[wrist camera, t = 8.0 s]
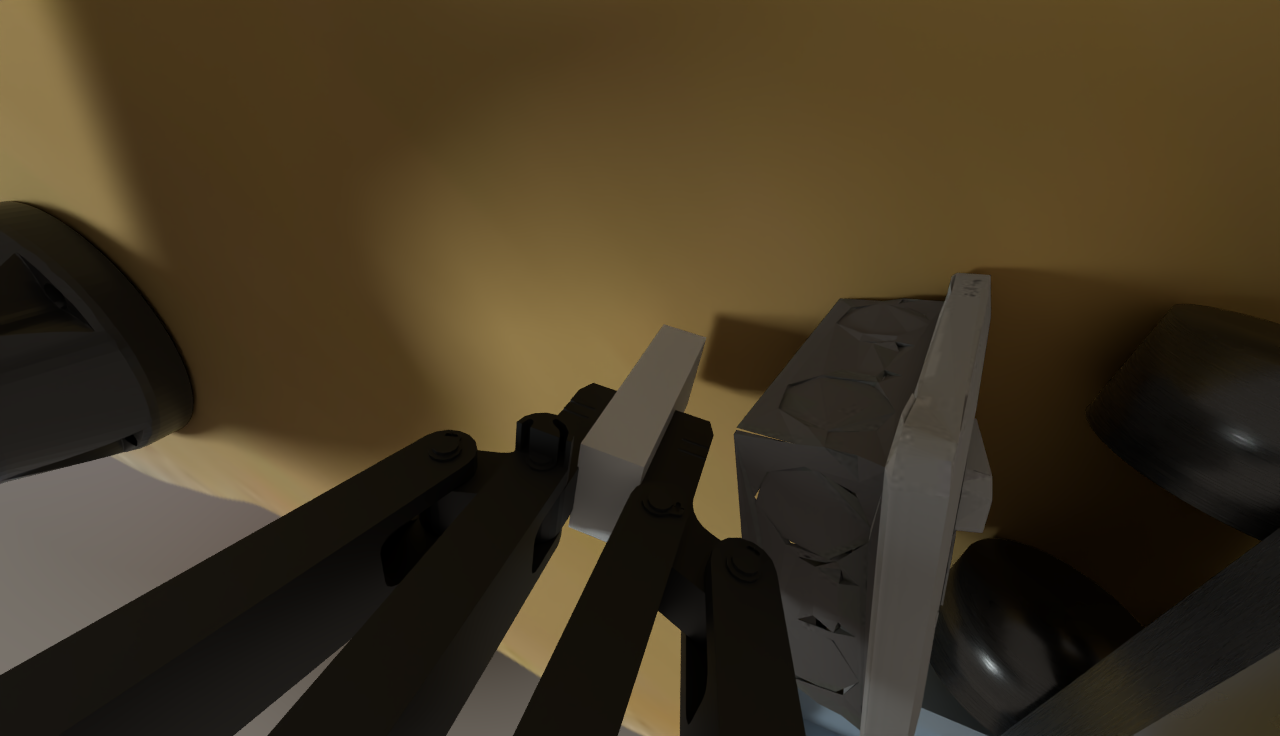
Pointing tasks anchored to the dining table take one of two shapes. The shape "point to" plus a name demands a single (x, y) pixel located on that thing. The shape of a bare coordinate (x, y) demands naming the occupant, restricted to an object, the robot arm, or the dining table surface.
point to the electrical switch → (870, 492)
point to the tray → (941, 723)
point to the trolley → (1094, 620)
